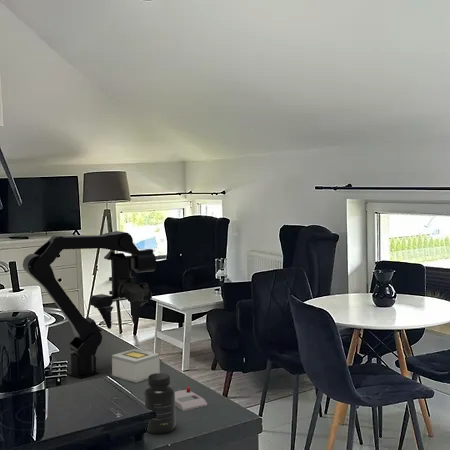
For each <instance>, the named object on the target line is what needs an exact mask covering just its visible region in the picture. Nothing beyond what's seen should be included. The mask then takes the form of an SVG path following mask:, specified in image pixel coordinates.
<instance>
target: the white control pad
mask: <svg viewBox="0 0 450 450" xmlns="http://www.w3.org/2000/svg"><path fill="white" fill-rule="evenodd" d="M207 405H209V404H208V402H207V401H206V400H205V398H203V397H202V396H200V395H198V394H196V392H195V393H194V392H193V391H191V387H190V386H188V387H186V389H180V388H176V391H175V408H179V409H180V410H181V411H183V412H186V411H187V412H188V411H192V410H196V409H195V408H197V409H200V408H199V407H201V408H204V407H203V406H205V407H208V406H207Z"/></svg>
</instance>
